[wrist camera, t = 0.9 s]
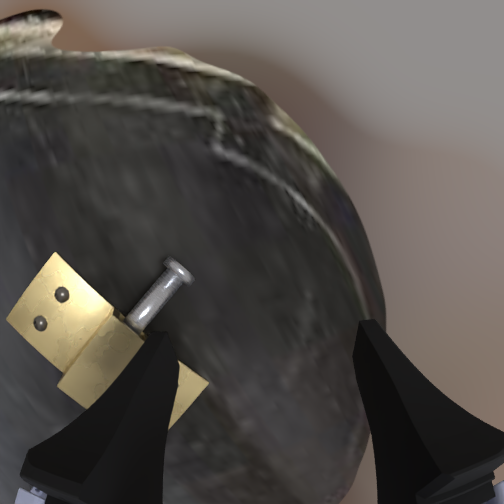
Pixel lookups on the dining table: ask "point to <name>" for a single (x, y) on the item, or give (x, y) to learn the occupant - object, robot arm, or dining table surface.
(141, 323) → the hinge pin
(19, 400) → the dining table surface
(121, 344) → the hinge leaves
